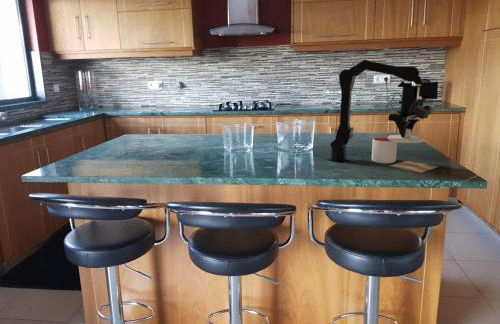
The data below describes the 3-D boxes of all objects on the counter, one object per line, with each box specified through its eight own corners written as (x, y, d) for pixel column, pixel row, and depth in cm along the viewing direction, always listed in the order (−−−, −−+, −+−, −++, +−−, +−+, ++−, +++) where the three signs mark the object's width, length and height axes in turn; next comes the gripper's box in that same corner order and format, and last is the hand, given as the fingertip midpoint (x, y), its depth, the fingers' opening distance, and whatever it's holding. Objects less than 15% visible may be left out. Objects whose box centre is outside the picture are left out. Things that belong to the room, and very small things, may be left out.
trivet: (420, 174, 151) (420, 172, 151) (388, 167, 162) (388, 166, 161) (438, 168, 159) (438, 166, 159) (406, 162, 170) (406, 160, 170)
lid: (411, 144, 151) (413, 133, 150) (380, 139, 162) (381, 128, 161) (430, 140, 160) (431, 129, 159) (399, 135, 170) (400, 125, 169)
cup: (369, 163, 169) (370, 140, 167) (373, 158, 178) (375, 136, 175) (393, 165, 165) (395, 142, 162) (397, 160, 173) (398, 138, 171)
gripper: (415, 101, 145) (411, 142, 149) (440, 98, 156) (436, 137, 160) (388, 99, 154) (385, 138, 157) (414, 96, 165) (410, 133, 169)
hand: (405, 136), depth 161 cm, fingers closed on lid, 4 cm apart
